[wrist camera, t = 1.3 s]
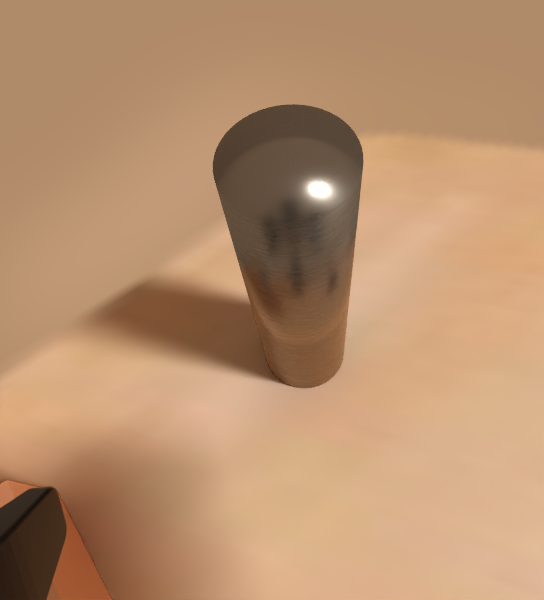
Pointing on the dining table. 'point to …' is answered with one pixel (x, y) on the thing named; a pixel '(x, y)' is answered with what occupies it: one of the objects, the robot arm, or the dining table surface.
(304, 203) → the peg
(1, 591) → the robot arm
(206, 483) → the dining table surface
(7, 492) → the socket block
